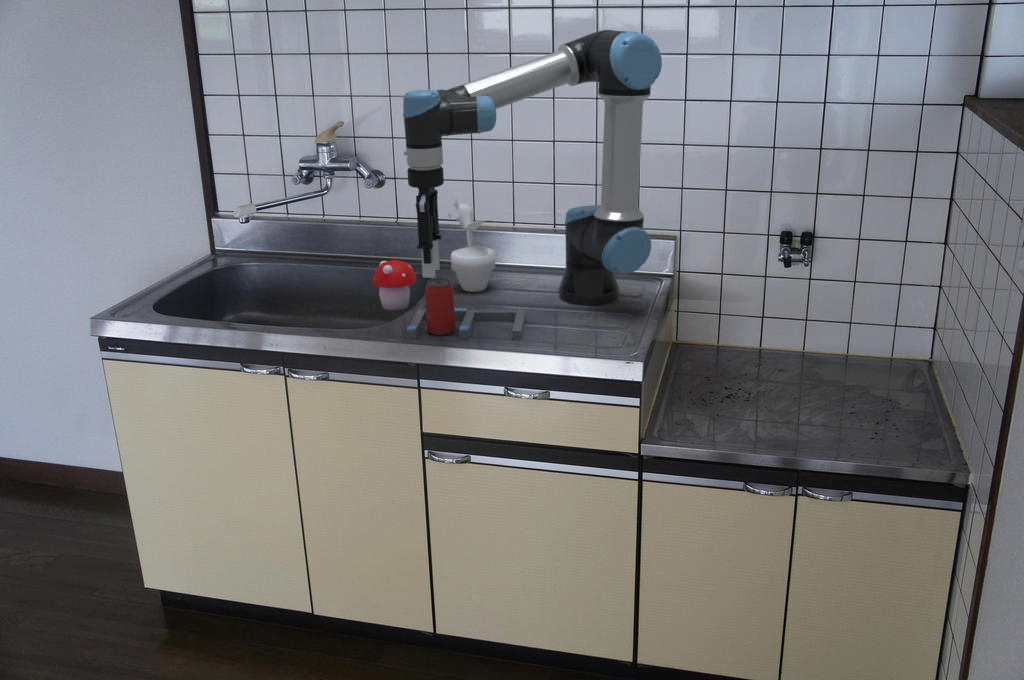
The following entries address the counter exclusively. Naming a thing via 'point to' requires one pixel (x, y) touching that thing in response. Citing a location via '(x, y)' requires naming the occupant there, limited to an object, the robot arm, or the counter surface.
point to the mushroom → (394, 284)
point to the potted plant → (471, 255)
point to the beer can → (440, 307)
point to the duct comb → (472, 321)
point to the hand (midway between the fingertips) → (431, 272)
